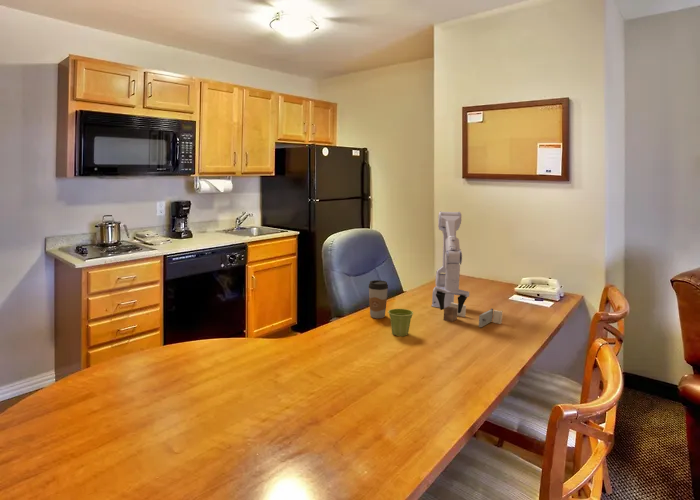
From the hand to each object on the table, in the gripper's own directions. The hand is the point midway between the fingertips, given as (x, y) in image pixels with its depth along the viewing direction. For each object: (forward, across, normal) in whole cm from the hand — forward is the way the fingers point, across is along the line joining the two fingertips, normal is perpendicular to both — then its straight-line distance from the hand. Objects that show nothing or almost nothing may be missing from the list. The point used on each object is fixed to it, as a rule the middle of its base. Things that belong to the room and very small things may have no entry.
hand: (450, 310), depth 186 cm
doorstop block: (+4, 0, 0) cm, 4 cm away
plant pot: (+4, -9, -28) cm, 30 cm away
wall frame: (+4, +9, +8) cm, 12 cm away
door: (+4, +15, +2) cm, 16 cm away
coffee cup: (+4, -27, -14) cm, 31 cm away
